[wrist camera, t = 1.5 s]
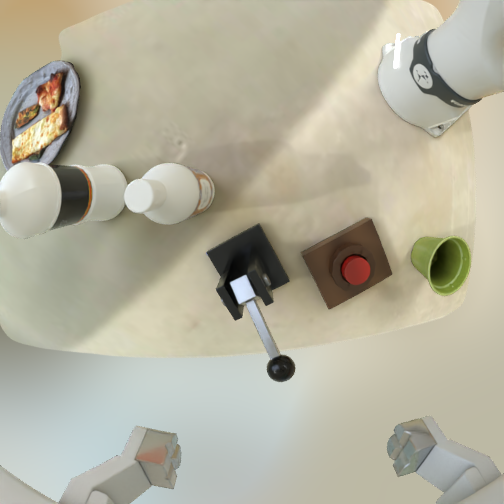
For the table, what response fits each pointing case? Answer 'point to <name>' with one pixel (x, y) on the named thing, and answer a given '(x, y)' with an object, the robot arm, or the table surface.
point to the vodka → (58, 196)
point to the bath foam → (170, 193)
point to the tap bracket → (247, 267)
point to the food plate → (40, 115)
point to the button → (355, 270)
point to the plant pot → (442, 262)
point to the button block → (336, 252)
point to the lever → (263, 330)
